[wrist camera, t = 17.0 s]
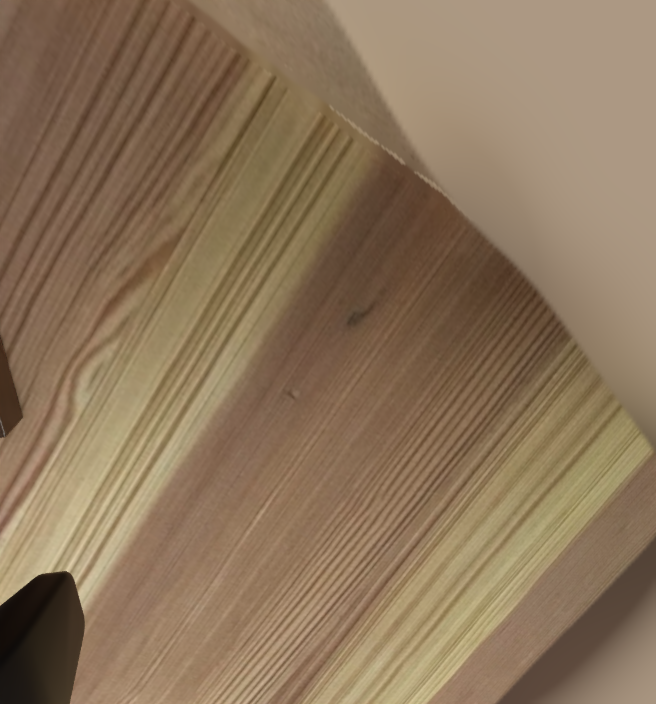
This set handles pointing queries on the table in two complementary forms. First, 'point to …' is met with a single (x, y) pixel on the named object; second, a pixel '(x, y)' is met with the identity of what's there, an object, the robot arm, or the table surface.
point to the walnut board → (7, 398)
